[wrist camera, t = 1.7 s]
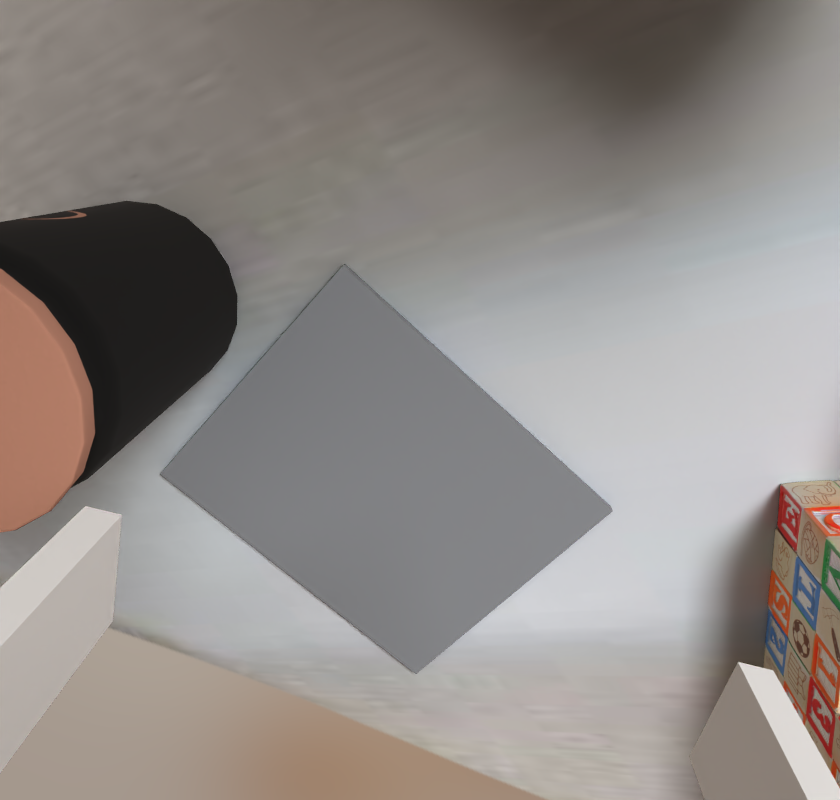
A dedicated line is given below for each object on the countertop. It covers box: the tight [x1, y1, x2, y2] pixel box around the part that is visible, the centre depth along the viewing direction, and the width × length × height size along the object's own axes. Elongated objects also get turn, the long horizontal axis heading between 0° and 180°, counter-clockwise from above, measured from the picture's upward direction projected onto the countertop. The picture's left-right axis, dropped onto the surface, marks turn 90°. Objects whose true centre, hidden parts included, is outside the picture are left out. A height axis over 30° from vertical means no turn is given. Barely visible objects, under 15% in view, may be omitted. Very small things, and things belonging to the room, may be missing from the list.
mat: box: [160, 264, 612, 674], centre depth 43 cm, size 22×18×1 cm
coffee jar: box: [0, 201, 237, 532], centre depth 32 cm, size 11×11×18 cm
